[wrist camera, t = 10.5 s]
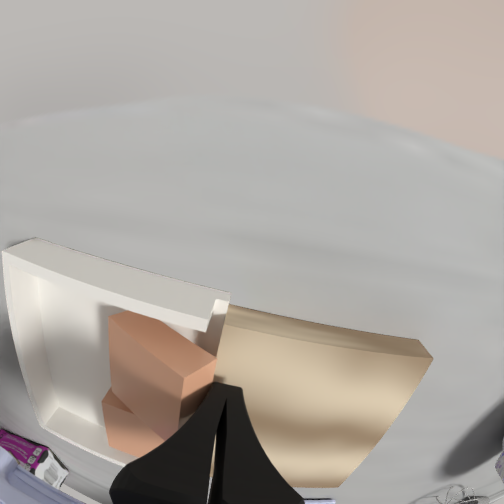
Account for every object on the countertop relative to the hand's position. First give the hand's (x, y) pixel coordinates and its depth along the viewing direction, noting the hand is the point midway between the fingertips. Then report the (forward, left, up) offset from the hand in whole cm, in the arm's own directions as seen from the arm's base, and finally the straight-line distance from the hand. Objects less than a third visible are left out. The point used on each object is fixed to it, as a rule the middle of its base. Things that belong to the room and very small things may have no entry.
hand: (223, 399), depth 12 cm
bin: (-3, +7, -3) cm, 8 cm away
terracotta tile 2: (0, +3, -1) cm, 3 cm away
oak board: (-3, -5, -3) cm, 6 cm away
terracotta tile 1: (-6, +4, -2) cm, 8 cm away
